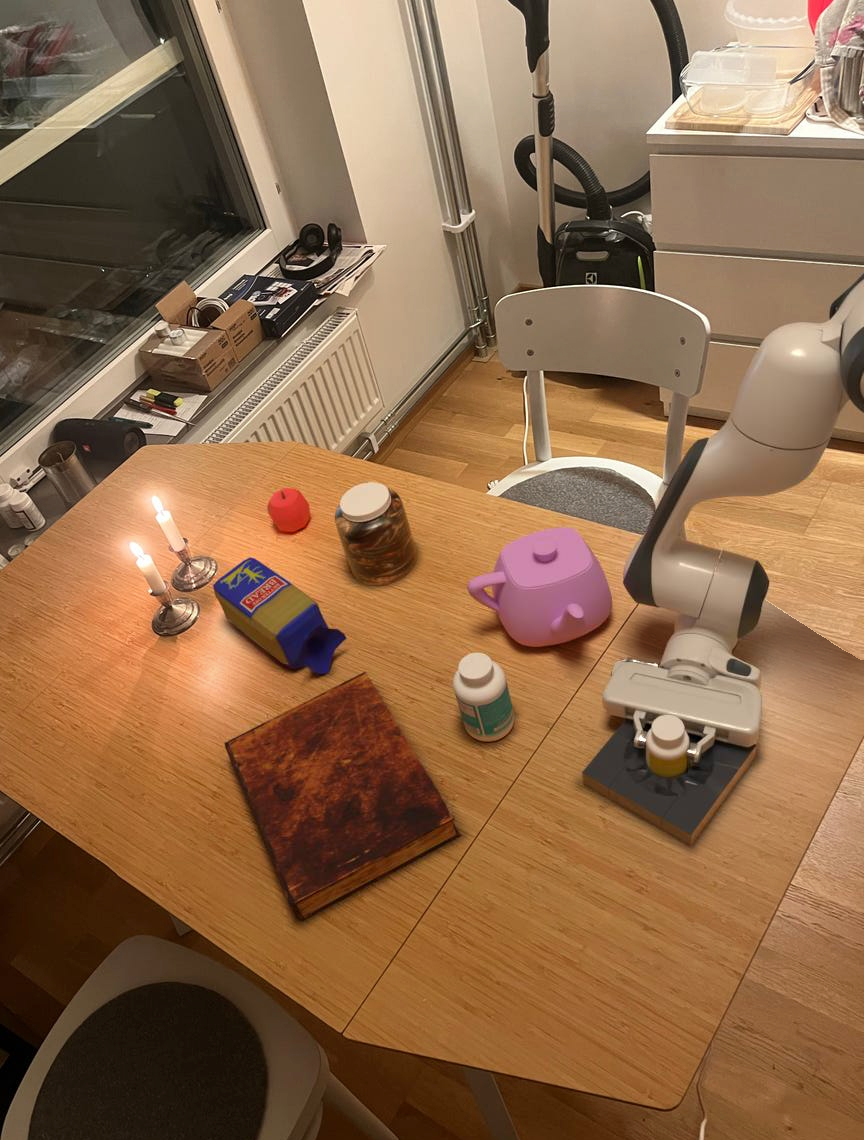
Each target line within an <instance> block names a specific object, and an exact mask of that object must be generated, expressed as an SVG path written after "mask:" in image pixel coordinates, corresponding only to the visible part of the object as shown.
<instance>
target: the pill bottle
mask: <svg viewBox="0 0 864 1140" xmlns="http://www.w3.org/2000/svg"><path fill="white" fill-rule="evenodd" d="M457 668H458V669H457V670H456V672H455V673H454V675H453V679H452V687H453V692H454V694H455V696H454V697H455V699H456V702H457V705H458V708H459V712H460V716H461V719H462V722H463V726H464V728H465V730H466V732H467V734H468V735H469V736H470V737H471V738H473V739H475V740H477V741H480V742H494V741H495V742H496V741H498V740H500V739H502V738H504V737H506V736H507V735H508V734H509V733H510V731H511V730H512V729H513V726H514V724H515V712H514V708H513V704H512V699H511V693H510V691H509V686H508V680H507V676H506V674H505V670H504V669H503V668H502V667H501V665H499V664H498V663H497V662H495V661H493V660H492V659H491V657H490V656H489V655H487V654H486V653H482V652H471V653H469V654H467V655H465V656H464V657H462V658H461V659H460V661H459V662H458V666H457Z"/></svg>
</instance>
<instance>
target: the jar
mask: <svg viewBox="0 0 864 1140" xmlns="http://www.w3.org/2000/svg"><path fill="white" fill-rule="evenodd" d="M340 498H341V499H340V501H339V505H338V506H337V508H336V510H335V514H334V523H335V528H336V530H337V533H338V536H339V540H340V542H341V546H342V548H343V552H344V554H345V557H346V560H347V563H348V565H349V568H350V571H351V573H352V575H353V577H354V579H355V580H356V581H357V582H359V583H361V584H362V585H364V586H365V585H366V586H370V587H383V586H388V585H391V584H393V583H396V582H398V581H400V580H402V579H403V578H405V577H407V575H408V574H409V573H411V571H412V570H413V569H414V567H415V565H416V563H417V560H418V553H417V548H416V545H415V541H414V537H413V533H412V530H411V526H410V522H409V520H408V516H407V512H406V509H405V506H404V503H403V501H402V498H401V496H400V495H399V494H398V493H397V492H396V491H395V490H393V489H391V488H388V487H387V486H386V485H385V484H384V483H383V484H382V483H380V482H375V481H370V482H363V483H360V484H357V485H355V486H352V487H351V488H349V489H348V490H347V491H346V492H345V493H344V494H343V495H342V497H340Z"/></svg>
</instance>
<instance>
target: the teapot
mask: <svg viewBox="0 0 864 1140" xmlns="http://www.w3.org/2000/svg"><path fill="white" fill-rule="evenodd" d="M605 574H606V573H605V571H604V570H603V567H602V565H601V563H600V561H599V559H598V558H597V556H596V555H595V553H594V552H593V550H592V549H591V548H590V546H589V544H588V543H587V542H586V541H585V539H584V538H583V537H582V536H581V534H580V533H579V532H578V531H577V530H576V529H575V528H573V527H568V526H567V527H566V526H561V527H552V528H547V529H542V530H538V531H535V532H531V533H529V534H526V535H523V536H521V537H519V538H516V539H514V540H512V541H511V542H510V543H507V544H506V545H505V546H503V548H502V550H500V553H499V554H498V558H497V560H496V562H495V565H494V569H493V572H489V573H484V574H480V575H478V576H475V577H473V578H471V579H470V580H469V581H468V582H467V584H466V585H467V586H466V589H467V592H468V594H469V595H470V596H471V597H472V599H474V600H475V601H476V602H477V603H479V604H481V605H483V606H484V607H486V608H488V609H490V610H492V611H495V612H496V614H497V617H498V619H499V621H500V623H501V624H502V625H503V628H504V629H505V631H506V632H507V634H508V636H510V637H511V638H512V639H513V640H514V641H515V642H516V643H518V644H520V645H521V646H525V647H532V648H537V647H538V648H540V647H548V646H555V645H559V644H560V645H561V644H564V643H568V642H571V641H573V640H575V639H579V638H580V637H583V636H585V635H587V634H589V633H591V632H592V631H595V630H596V629H597V628H599V627H600V626H601V625H602V624H603V623H604V622H606V620H607V619H608V617H609V616H610V615H611V612H612V609H613V597H612V593H611V589H610V586H609V581H608V579H607V577H606V575H605ZM488 587H491V590H492V591H491V592H492V596H491V595H489V594H488V592H487V591H486V590H485V588H488Z"/></svg>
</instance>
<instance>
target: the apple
mask: <svg viewBox="0 0 864 1140" xmlns="http://www.w3.org/2000/svg"><path fill="white" fill-rule="evenodd" d="M266 508H267V514H268V516H269V517H270V519H271V520H272V522H273V523H274V525H276V527H277V528H278V530H279V532H285V533H286V532H287V533H294V532H297V531H298V530H301V529H303V528H305V527H306V525H308V524H307V523H308V522H309V520H310V518H311V510H310V509H311V508H310V504H309V502H308V501H307V499H306V498H305V496H304V495H303V494H302V492H301V490H300V489H299V490H298V489H297V488H295V487H294V488H293V487H290V488H289V487H282V488H281V489H279V490H277V491H275V492H273V494H272V495H271V496H270V499H269V501H268V503H267V506H266Z"/></svg>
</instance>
